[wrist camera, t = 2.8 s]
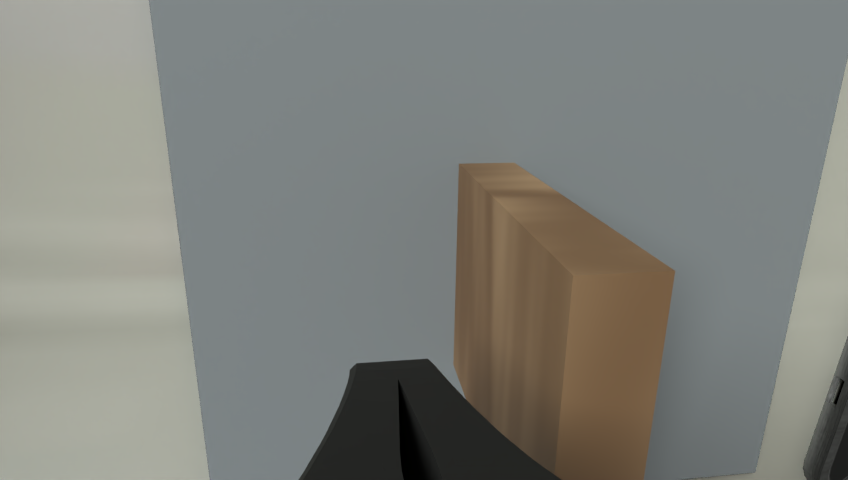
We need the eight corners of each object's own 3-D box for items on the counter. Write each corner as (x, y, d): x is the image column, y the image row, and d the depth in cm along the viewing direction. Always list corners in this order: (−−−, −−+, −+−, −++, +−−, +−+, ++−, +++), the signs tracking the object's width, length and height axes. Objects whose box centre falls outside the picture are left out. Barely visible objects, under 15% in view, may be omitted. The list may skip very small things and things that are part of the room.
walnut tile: (453, 365, 18) (542, 607, 10) (458, 163, 16) (572, 275, 8) (502, 361, 18) (625, 596, 10) (514, 162, 16) (675, 270, 8)
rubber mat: (217, 515, 18) (215, 524, 18) (147, -53, 13) (141, -55, 13) (747, 464, 21) (755, 472, 21) (854, -32, 16) (867, -34, 16)
